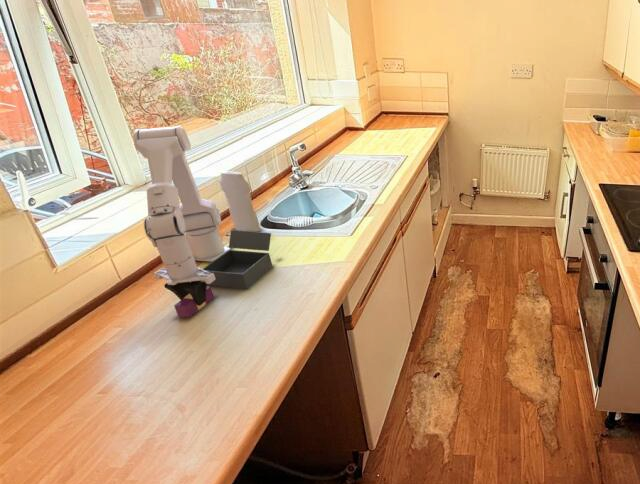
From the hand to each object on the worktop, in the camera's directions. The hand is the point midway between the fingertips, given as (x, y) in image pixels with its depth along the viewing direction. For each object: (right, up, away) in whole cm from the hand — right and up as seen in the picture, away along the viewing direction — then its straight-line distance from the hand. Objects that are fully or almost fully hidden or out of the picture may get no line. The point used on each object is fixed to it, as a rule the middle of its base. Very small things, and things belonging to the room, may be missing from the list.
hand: (195, 302), depth 103 cm
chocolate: (0, -1, +1) cm, 1 cm away
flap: (+3, +14, +16) cm, 22 cm away
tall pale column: (-11, +15, +38) cm, 42 cm away
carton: (+3, +4, +13) cm, 14 cm away
